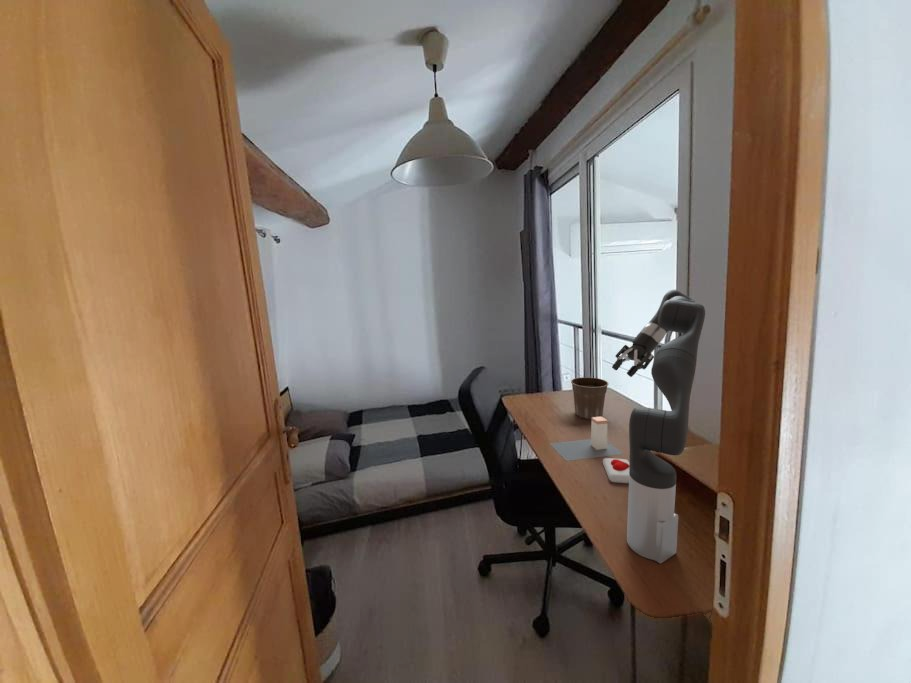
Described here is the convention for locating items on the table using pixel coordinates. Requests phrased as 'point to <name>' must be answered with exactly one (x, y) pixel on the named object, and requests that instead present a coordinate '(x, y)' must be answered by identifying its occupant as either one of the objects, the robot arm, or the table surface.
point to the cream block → (599, 432)
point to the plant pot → (589, 396)
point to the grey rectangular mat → (583, 450)
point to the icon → (617, 470)
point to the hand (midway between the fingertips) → (621, 372)
